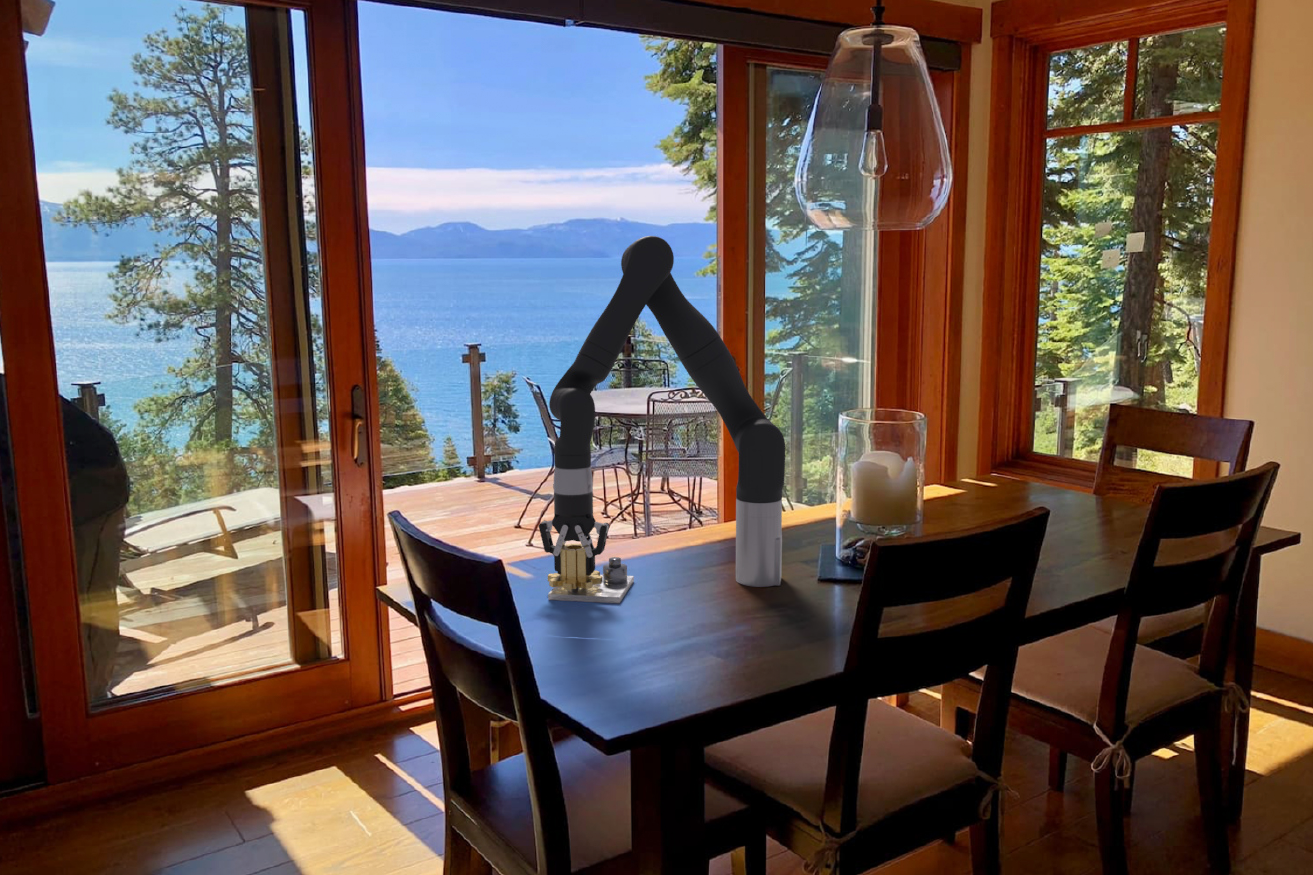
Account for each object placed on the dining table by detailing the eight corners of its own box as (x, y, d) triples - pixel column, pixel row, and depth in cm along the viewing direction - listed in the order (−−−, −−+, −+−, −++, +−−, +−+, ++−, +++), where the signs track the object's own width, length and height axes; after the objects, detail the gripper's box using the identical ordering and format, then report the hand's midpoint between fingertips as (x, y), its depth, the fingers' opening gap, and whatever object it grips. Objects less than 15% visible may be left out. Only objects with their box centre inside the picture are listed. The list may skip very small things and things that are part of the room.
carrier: (633, 581, 197) (633, 554, 196) (619, 603, 184) (619, 573, 183) (567, 578, 200) (566, 551, 199) (548, 599, 186) (547, 570, 185)
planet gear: (607, 575, 194) (607, 541, 193) (595, 591, 184) (594, 555, 183) (556, 572, 196) (555, 539, 195) (540, 588, 186) (540, 553, 185)
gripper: (613, 486, 190) (614, 570, 192) (543, 484, 192) (544, 567, 195) (605, 494, 182) (606, 581, 185) (531, 492, 185) (534, 577, 187)
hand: (574, 573), depth 190 cm, fingers closed on planet gear, 5 cm apart
